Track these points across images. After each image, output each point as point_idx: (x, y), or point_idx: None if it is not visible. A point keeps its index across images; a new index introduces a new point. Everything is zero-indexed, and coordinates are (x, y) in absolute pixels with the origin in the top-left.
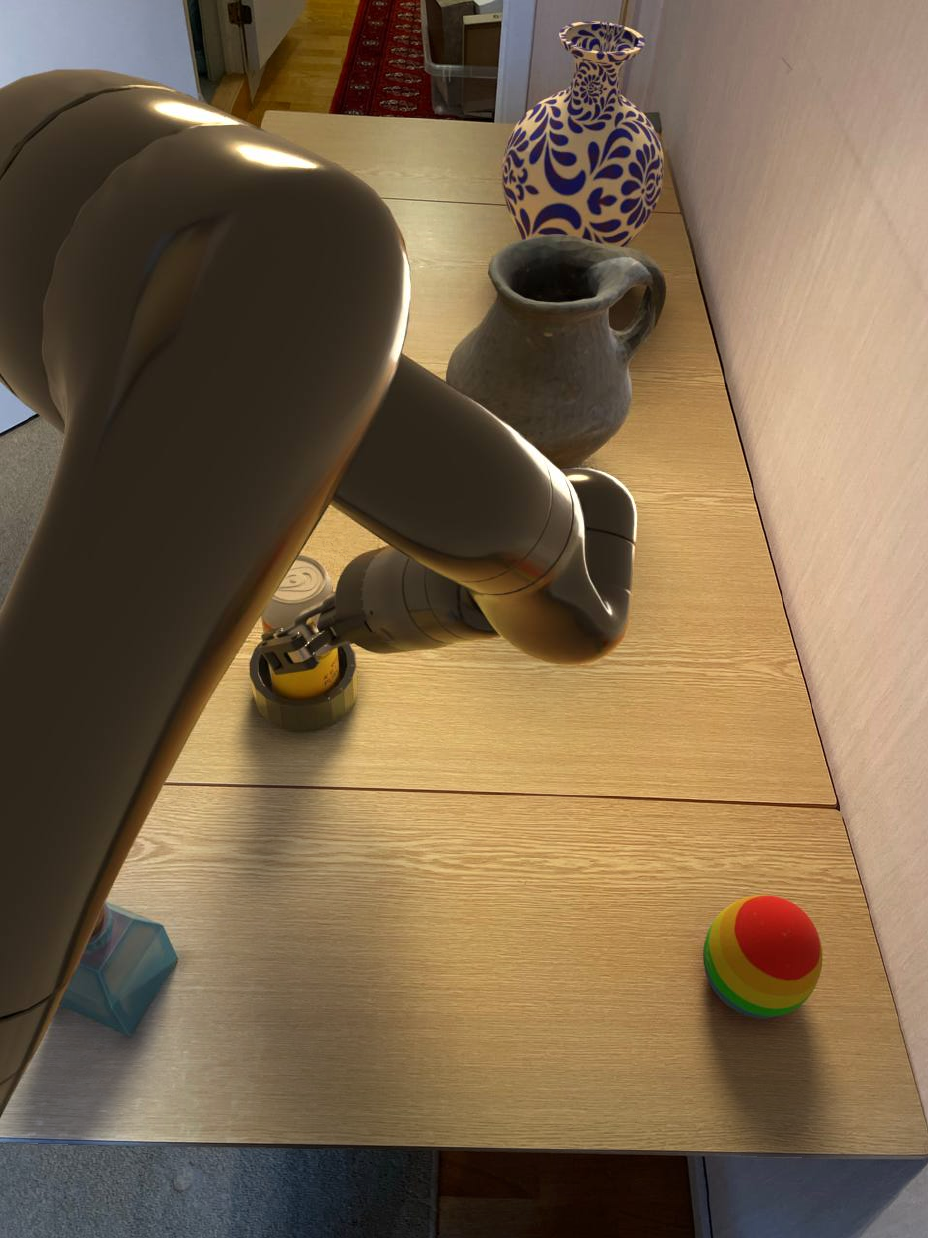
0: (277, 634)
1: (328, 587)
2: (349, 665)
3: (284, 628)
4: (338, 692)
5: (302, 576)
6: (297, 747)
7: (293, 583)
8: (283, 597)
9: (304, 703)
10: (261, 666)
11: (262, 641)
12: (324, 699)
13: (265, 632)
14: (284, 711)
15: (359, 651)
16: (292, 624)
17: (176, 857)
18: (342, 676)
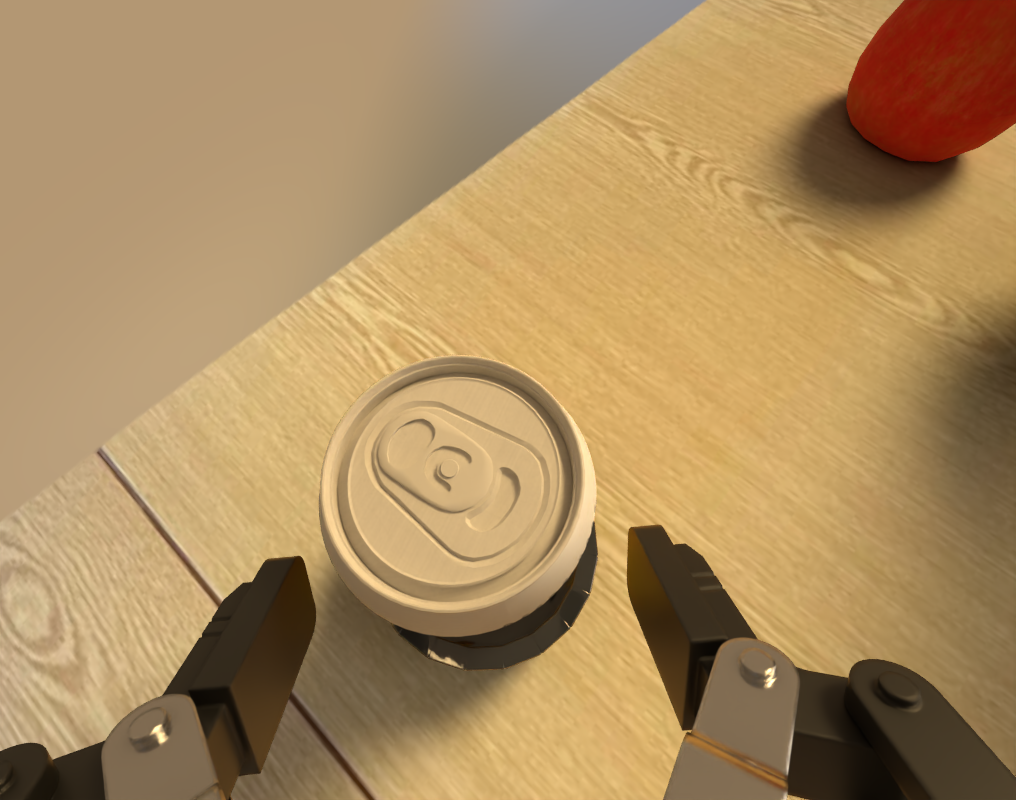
0: (102, 758)
1: (545, 584)
2: (559, 616)
3: (168, 736)
4: (492, 665)
5: (487, 482)
6: (389, 656)
7: (440, 487)
8: (362, 522)
9: (416, 636)
10: None
11: (243, 590)
12: (456, 658)
13: (273, 566)
14: None
15: (621, 545)
16: (182, 771)
17: (72, 709)
18: None
